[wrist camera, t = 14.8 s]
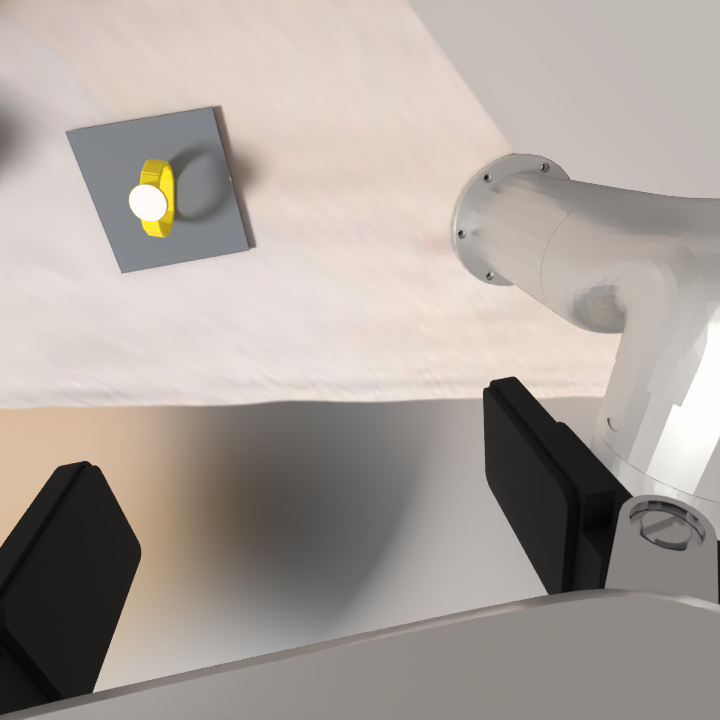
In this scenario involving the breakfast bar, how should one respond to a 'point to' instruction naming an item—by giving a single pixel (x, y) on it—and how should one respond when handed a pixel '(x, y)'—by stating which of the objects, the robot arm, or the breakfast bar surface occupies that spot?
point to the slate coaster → (191, 187)
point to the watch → (155, 198)
